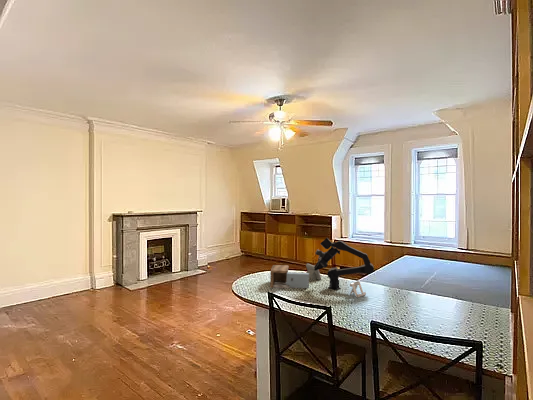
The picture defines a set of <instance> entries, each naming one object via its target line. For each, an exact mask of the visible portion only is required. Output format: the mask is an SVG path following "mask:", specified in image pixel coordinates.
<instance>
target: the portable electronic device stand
mask: <svg viewBox="0 0 533 400" xmlns="http://www.w3.org/2000/svg"><path fill="white" fill-rule="evenodd" d="M349 286H350V287H351V291H350V293H349V295H352V294H354V295H355V297H356V298H360V297H363V296H364V297H365V296H366V294H367V292H366V291H365V292H364V290H363V288H362V285H361V281H359V280H358V281H354V282H351V283H349ZM358 287H359V290H360V293H358V292H357V288H358Z"/></svg>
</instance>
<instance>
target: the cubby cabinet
mask: <svg viewBox="0 0 533 400" xmlns="http://www.w3.org/2000/svg"><path fill="white" fill-rule="evenodd" d="M289 267H290V266H289V265H287V264H284V265H282V264H281V265H280V264H272V266H271V268H270V281H269V282H270V286H269V287H270V289H271V288H272V289H273V288H279V289H280V288H281V289H282V288H283V289H290V287H289V285H287V272H289Z"/></svg>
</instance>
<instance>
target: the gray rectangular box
mask: <svg viewBox="0 0 533 400" xmlns="http://www.w3.org/2000/svg"><path fill="white" fill-rule="evenodd" d="M287 285H289V288H297V289H309V288H310V279H309V273H306V272H292V271H288V272H287Z"/></svg>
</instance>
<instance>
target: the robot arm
mask: <svg viewBox="0 0 533 400" xmlns="http://www.w3.org/2000/svg"><path fill="white" fill-rule="evenodd" d="M320 245H321V246H322V247H323V248H324V250H327V251H325V252H323V251H322V250H321V249H316V251H315V255H316V256H318V258H317V262H316V264H314V265H313V266H314V268H315V269H314V270H315V271H316V270H318V269H319V270H322V269H326V268H327V267H328V263H329V261H330V260H333V258H334V257H335V256H336V254H338V255H340V254H341V251H343V252H348V253H350V254H352V255H353V256H356V257H359V258H361V259H362V260H363V263H364V264H362V265H360V266H353V267H346V268H342V269H341V268H340V269H339V268H338V267H337V266H336V267H331V268H329V269H328V271H327V273H326V274H327V277H328V279H329V287H328V289H331V290H334V291H337V290H341V287H340V279H339V278H340V276H345V275H346V276H347V275H352V274H358V273H359V274H360V273H361V274H372V273H373V272H374V270H375V267H374V264H373V263H372V262H371V260H370V259H369V256H368V254H367V253H366V252H363V251H361V250H358V249H356V248H354V247H352V246H350V245H349V244H347V243H346V242H344V241H343V240H340V239H339V240H338V241H335V242H332V241H331V240H330V239H329V238H328V237H326V238H324V240H322V242H320Z"/></svg>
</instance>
